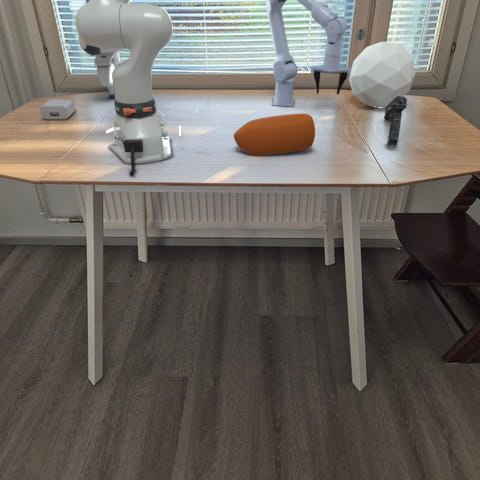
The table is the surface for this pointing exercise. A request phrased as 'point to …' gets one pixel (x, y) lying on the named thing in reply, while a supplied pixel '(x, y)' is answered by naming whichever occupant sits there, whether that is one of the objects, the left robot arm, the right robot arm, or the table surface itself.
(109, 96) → the canister
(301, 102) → the table surface
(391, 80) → the decorative sphere
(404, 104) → the futuristic handgun
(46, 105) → the charger
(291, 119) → the orange tapered cylinder
